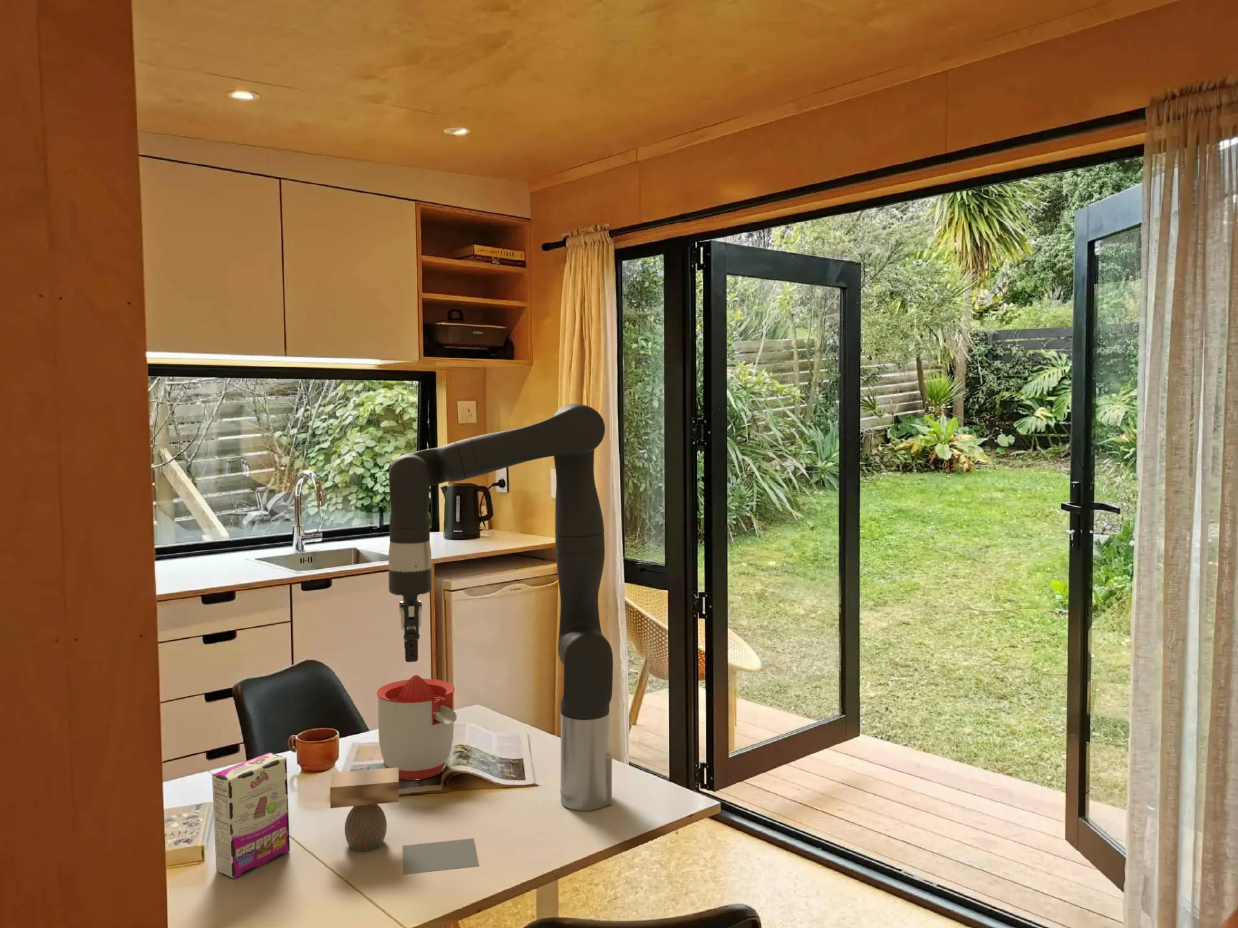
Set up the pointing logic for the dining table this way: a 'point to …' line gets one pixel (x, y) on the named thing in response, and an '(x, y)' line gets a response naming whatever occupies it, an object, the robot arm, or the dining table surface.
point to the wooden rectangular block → (364, 787)
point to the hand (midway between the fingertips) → (411, 655)
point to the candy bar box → (250, 814)
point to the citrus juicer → (416, 726)
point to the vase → (365, 827)
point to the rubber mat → (439, 856)
